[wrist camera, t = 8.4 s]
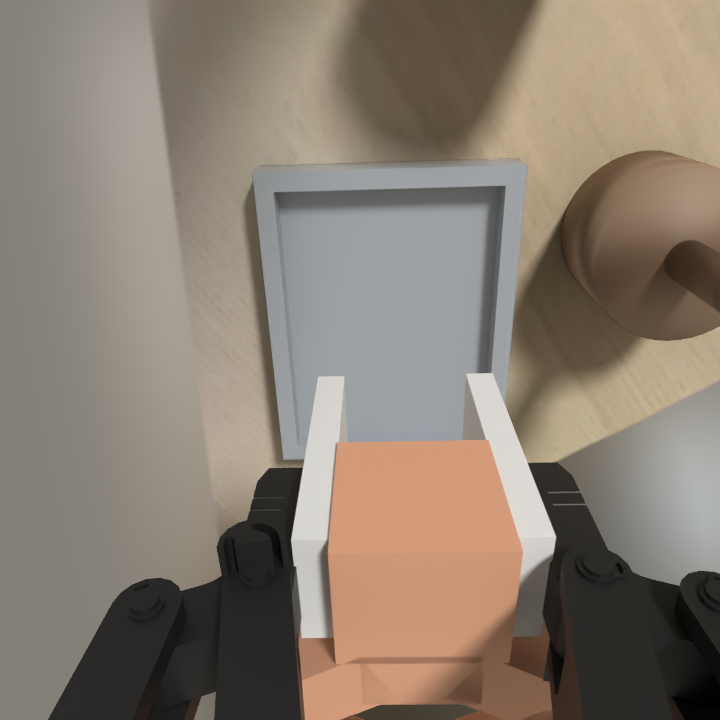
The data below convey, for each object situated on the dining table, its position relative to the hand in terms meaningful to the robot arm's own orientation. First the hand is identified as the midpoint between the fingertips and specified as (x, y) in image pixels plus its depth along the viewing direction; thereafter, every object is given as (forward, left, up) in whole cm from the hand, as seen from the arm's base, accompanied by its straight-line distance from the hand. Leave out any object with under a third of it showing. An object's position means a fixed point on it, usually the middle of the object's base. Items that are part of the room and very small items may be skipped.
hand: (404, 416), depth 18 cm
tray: (+5, 0, -19) cm, 19 cm away
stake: (0, +14, -19) cm, 23 cm away
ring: (+5, 0, +3) cm, 6 cm away
